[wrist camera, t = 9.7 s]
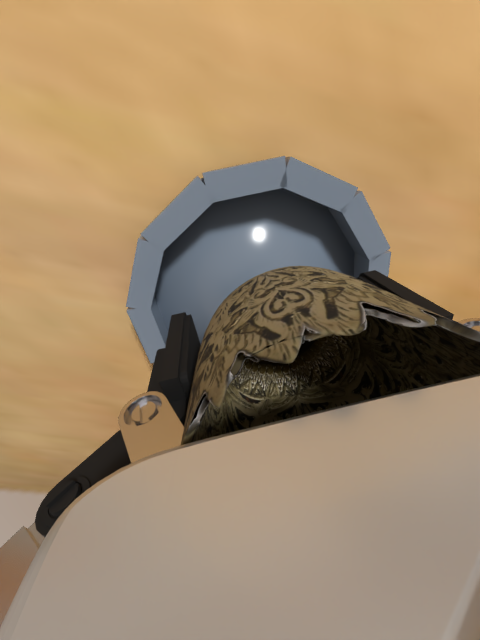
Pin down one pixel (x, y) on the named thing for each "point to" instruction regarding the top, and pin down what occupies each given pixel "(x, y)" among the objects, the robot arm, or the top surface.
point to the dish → (246, 240)
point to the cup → (316, 350)
